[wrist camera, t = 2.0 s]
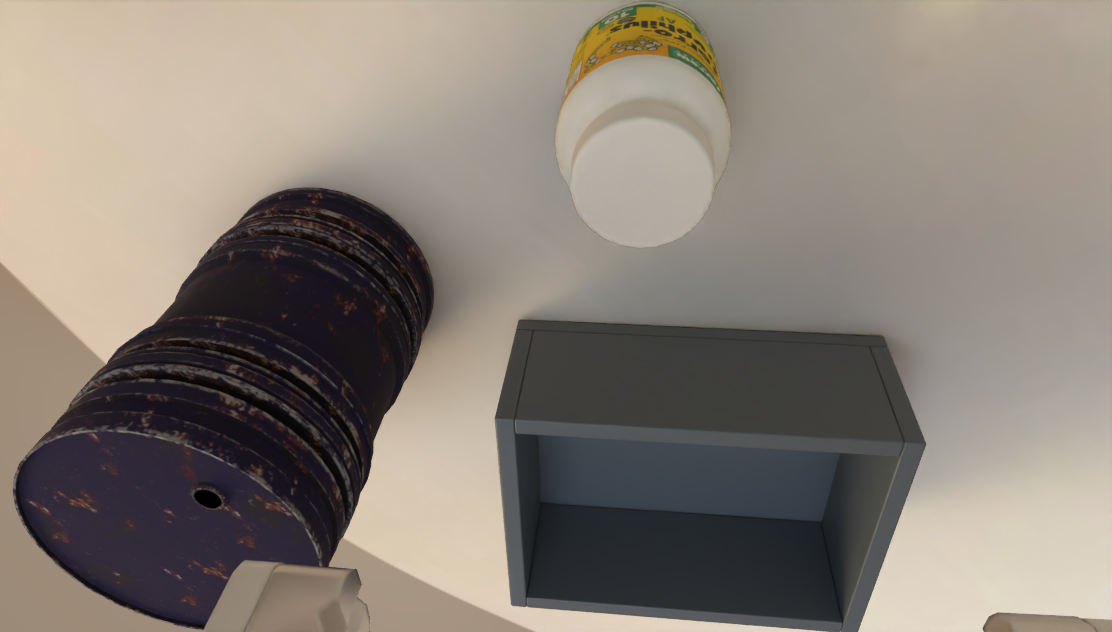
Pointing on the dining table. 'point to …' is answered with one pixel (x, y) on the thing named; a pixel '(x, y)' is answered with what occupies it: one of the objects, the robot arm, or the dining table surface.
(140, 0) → the dining table surface
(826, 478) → the box shelf
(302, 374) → the dark barrel
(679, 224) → the supplement bottle
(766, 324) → the dining table surface
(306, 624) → the robot arm
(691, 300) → the dining table surface
